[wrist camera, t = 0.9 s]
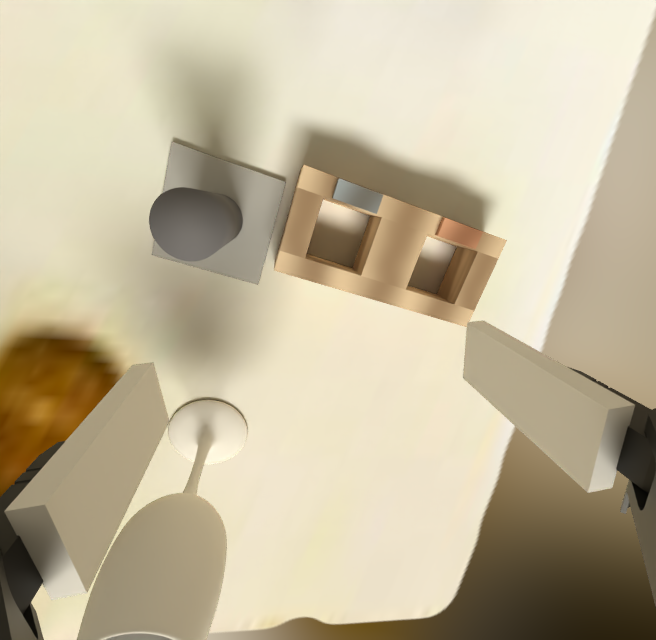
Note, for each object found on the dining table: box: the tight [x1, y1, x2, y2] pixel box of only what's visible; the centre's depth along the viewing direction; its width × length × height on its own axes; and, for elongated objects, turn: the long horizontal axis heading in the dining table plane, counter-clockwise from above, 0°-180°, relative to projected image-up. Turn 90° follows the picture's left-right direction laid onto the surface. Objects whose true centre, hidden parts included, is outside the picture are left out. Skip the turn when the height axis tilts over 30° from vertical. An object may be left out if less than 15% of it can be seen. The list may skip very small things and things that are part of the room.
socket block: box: [274, 165, 507, 327], centre depth 32 cm, size 20×9×5 cm, turn 72°
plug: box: [149, 187, 243, 262], centre depth 26 cm, size 4×4×11 cm
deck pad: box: [152, 142, 286, 285], centre depth 31 cm, size 10×10×1 cm
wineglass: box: [77, 400, 248, 640], centre depth 29 cm, size 9×9×21 cm
